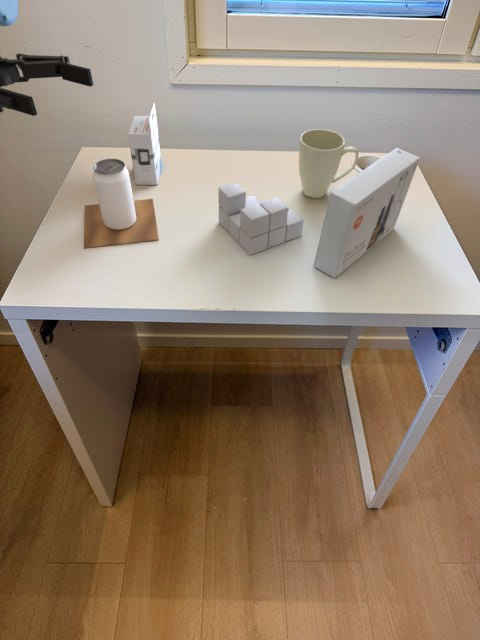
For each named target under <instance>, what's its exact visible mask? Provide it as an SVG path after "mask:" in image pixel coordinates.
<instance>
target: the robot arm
mask: <svg viewBox="0 0 480 640" xmlns="http://www.w3.org/2000/svg"><path fill="white" fill-rule="evenodd" d="M18 2H19V1H18V0H0V27H11V26H13V25H14V24H15V23H16V21H17V20H18V16H19V3H18ZM15 57H16V58H13V59H9V58H7V57H1V56H0V113H4V110H5V109H7V110H13V111H16V112H19V113H22V114H25V115H29V116H33V117H35V116H37V115H38V112H37V108H36V105H35V102H34V98H33V96H30V95H27V94H23V93H19V92H17V91H13V90H9V89H6V88H2V87H7V86H9V85H14V84H15V83H28V82H29V80H30V79H32V80H33V79H48V78H62V80H63V81H67V82H72V83H75V84H78V85H83V86H87V87H89V88H90V87H93V86H94V81H93V76H92V71H91V68H87V67H84V66H79V65H76V64H71V61H70V60H71V59H70V57H69V56H68V55H62V54H61V55H37V54H36V55H34V54H25V53H16V54H15ZM19 70H20V71H21V74H22V76H21V74H20V71H19Z"/></svg>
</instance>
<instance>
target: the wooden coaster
mask: <svg viewBox="0 0 480 640" xmlns="http://www.w3.org/2000/svg"><path fill="white" fill-rule="evenodd" d="M134 206H135V212H136V222H135V223H134V224H133V225H132V226H131V227H130V228H127V229H124V230H113V229H110V228H108V227H107V226H106V225H105V224H104V222H103V218H102V214H101V209H100V205H99V203H95V204H86V205H84V218H83V219H84V220H83V249H94V248H102V247H110V246H120V245H127V244H128V245H129V244H139V243H148V242H156V241H157V242H158V241H160V239H159V233H158V226H157V225H158V224H157V218H156V212H155V205H154V199H153V198H148V199H137V200H134Z"/></svg>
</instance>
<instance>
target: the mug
mask: <svg viewBox="0 0 480 640" xmlns="http://www.w3.org/2000/svg"><path fill="white" fill-rule="evenodd" d="M345 144H346V140H345V138H344V136H343V135H341V134H340V133H338V132H336V131H334V130H329V129H322V128H315V129H314V128H313V129H309V130H307V131H304V132H303V133H301V135H300V137H299V148H298V149H299V151H298V172H299V177H300V182H301V183H300V184H301V187H302V192H303V194H304V195H305V196H307V197H308V198H311V199H318V198H322V197H324V196H325V195H326V193H327V191H328V190H329V188H330V186H331V185H332V184H333V183H337V182H338V181H340V180H342V179H343V178H344V177H346V176H347V175H348V174H350V173H351V172H352V171H353V170H354V169H355V168H356V166H357V165H358V161H359V150H358V149H357V148H356V147H354V146H346V147H345ZM349 152H354V153H355V154H354V155H355V156H354V161H353V163H352V164H351V165H350V166H349V167H348V168H347V169H346V170H343V172H341V173H340V174H339V175H337V173H338V169H339V167H340V163H341V159H342V157H343V156H344V155H345V154H347V153H349ZM336 175H337V176H336Z"/></svg>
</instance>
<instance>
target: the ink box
mask: <svg viewBox="0 0 480 640" xmlns="http://www.w3.org/2000/svg"><path fill="white" fill-rule="evenodd" d="M127 138H128V143H129V144H128V145H129V149H130V150H129V151H130V156H131V162H132V168H133V175H134V181H135V185H137V186H157V185H158V184H159V180H160V175H161V172H162V166H163V165H162V154H161V146H160V139H159V128H158V119H157V109H156V104H155V102H153V103H152V106H151V110H150V113H149V115H134V116H133V119H132V122H131V124H130V126H129V129H128V132H127Z"/></svg>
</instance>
